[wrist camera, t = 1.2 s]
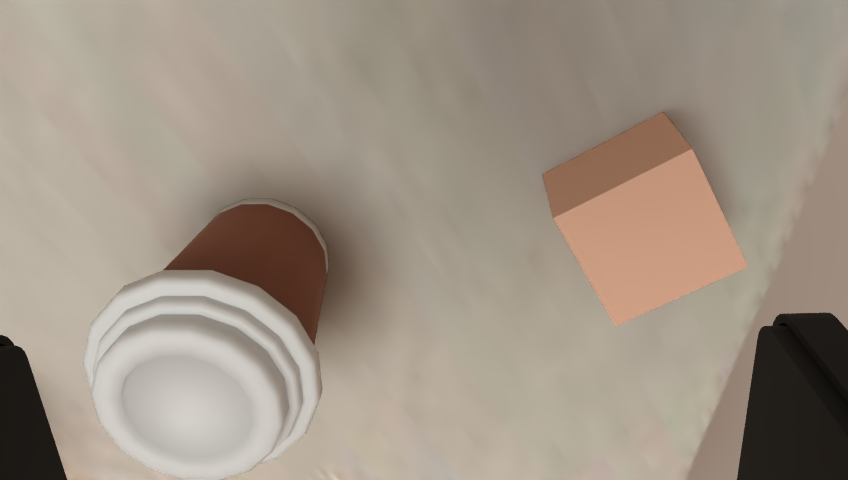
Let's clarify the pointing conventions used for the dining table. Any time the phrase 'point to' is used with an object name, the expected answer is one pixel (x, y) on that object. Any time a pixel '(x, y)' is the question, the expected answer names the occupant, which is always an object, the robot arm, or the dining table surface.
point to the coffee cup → (215, 347)
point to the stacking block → (642, 219)
